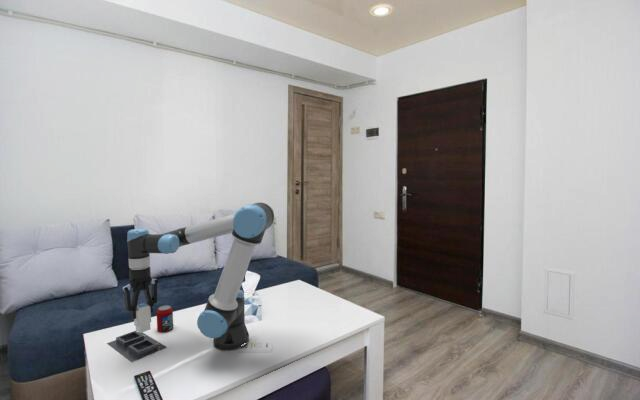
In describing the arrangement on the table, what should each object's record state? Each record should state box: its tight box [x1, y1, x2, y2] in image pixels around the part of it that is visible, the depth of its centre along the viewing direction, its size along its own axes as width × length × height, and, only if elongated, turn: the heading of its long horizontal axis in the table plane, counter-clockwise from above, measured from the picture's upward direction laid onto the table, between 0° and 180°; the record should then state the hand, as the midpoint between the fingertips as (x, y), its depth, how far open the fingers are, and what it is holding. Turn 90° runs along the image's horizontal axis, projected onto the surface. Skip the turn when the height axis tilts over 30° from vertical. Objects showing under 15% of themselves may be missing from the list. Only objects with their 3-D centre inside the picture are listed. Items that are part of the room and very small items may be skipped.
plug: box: [135, 302, 151, 333], centre depth 135 cm, size 4×4×11 cm
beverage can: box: [156, 304, 174, 334], centre depth 154 cm, size 7×7×12 cm
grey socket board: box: [106, 330, 168, 363], centre depth 140 cm, size 24×14×4 cm, turn 53°
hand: (142, 323), depth 136 cm, fingers closed on plug, 4 cm apart
